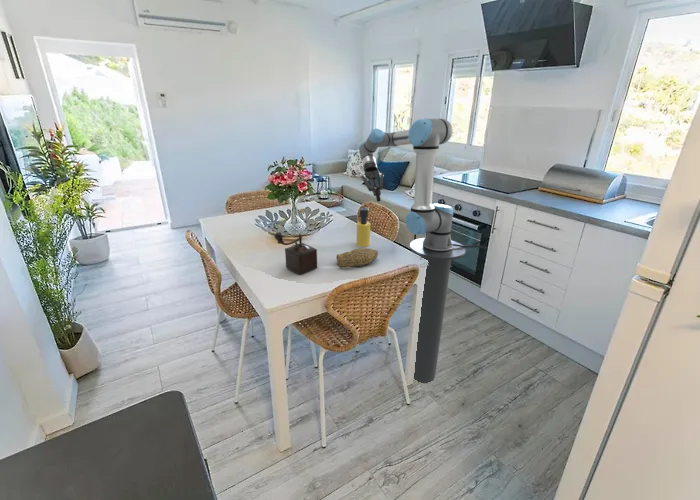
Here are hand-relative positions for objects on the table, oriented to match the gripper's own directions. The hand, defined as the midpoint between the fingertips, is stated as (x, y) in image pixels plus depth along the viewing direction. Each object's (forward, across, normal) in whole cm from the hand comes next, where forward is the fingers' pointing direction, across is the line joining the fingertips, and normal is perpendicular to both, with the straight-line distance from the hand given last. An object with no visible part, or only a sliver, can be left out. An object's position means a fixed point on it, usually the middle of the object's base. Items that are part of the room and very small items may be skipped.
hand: (378, 199), depth 184 cm
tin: (-15, +44, -35) cm, 58 cm away
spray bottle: (+19, +12, -12) cm, 25 cm away
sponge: (+37, +18, +4) cm, 41 cm away
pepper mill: (+37, +46, +9) cm, 60 cm away
